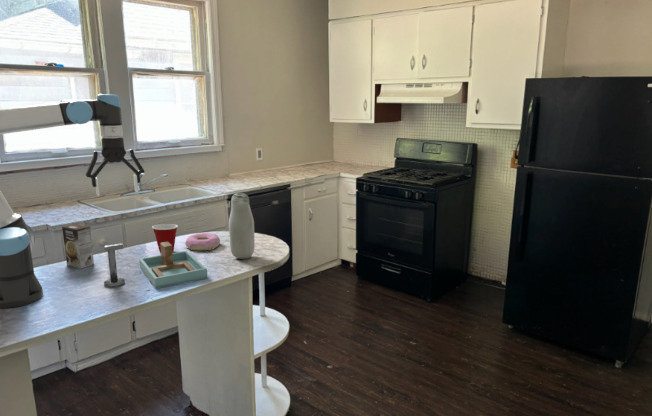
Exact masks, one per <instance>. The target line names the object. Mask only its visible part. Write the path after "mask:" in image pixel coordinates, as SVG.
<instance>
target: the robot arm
mask: <svg viewBox="0 0 652 416" xmlns="http://www.w3.org/2000/svg"><path fill="white" fill-rule="evenodd" d="M89 122H99V129H100V136H101V137H102V138H101V140H100V141H101V151H99V150H98V151H97V150H93V151H92V158H91V160H90V163H89V165H88V168H87V170H86V172H85V176H86V177H87V178H89V179H91V185H92V187H93V188H95V192H96V196H97V197H100V196H101V195H100V187H99V186H100V185H99V184H100V183H99V179H98V177H97V176H98V175H99V174H100V172H101V171H102V170H103V169H104V168H105V166H106V165H107V164H108V163H120V162H122V163H124V164H125V165H126V166H127V167H128V168H129V169H130V170H131V171H132V172H133V173H135V174H132V175H133V177H132V178H133V187H134V192H135V193H139V186H138V185H139V184H140V183H141V175H142V174H144V173H145V169H144V168H143V166H142V165H141V163H140V162H139V160H138V158H137V156H136V155H135V152H134V149H132V148H129V149H125V143H124V141H125V140H124V137H123V136H124V132H123V131H124V130H123V119H122V107H121V99H120V96H119V95H117V94H111V93H110V94H109V93H105V94H102V93H99V94H97V96H96V99H62V100H60V101H59V102H50V103H43V104H35V105H34V104H33V105H25V106H19V107H8V108H1V109H0V135H6V134H11V133H20V132H27V131H33V130H35V131H36V130H42V129H48V128H49V129H51V128H54V127H63V126H71V125H77V124H78V125H84V124H87V123H89ZM126 154H127V155H128V156H130V158H131V159H132V161H133V162H134V164H135V166H136V167H137V168H136V167H134V166H133V164H131V163H130V162H129V161H128V160H127V159H126V158H125V156H126ZM100 156H102V157H103V159H102V160H101V162H100V163H99V165H98V166H97V167H96V168H95V166H96V165H95V164H97V161H98V158H100ZM94 168H95V170H94V171H93V169H94ZM137 169H138V170H137ZM35 241H36V236H35V232H34V230H33V229H32V228H31V226H29V225H28V224H27V223H26V222H25V220H24V218H23V216H22V215H21V214H19V213H15V212H14V211H13V209H12V207H11V206H10V204H9V202H8V200H7V199H6V197H5V196H4V194H3V192H2V190H1V189H0V309H10V308H19V307H23V306H26V305H29V304H32V303H34V302H37V301H38V300H40V299H41V298H42V297H43V296H44V289H43V286H42V285H41V283H40V281H39V279H38V278H37V276H36V275H35V271H34V263H33V254H32V250H33V249H34V245H35Z"/></svg>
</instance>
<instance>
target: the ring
mask: <svg viewBox="0 0 652 416" xmlns="http://www.w3.org/2000/svg"><path fill="white" fill-rule="evenodd" d="M160 246H161V253H160V255H161V259H162V265H163V266H157V267H152V272H153V273H154V274H155V275H156V277H161V276H164V275H163V274H162V273H161V272H160V271H165V270H170V269H175V268H181V267H184V268H185V269H186V270H187V271H192V270H195V269H194V268H193V267H192V266H191V265H190V264H189V263H188V262H187V261H185V262H180V263H174V264H173V253H174V251H173V252H172V245H171V244H170V243H169V242H162V243H160Z"/></svg>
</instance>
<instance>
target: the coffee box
mask: <svg viewBox="0 0 652 416" xmlns="http://www.w3.org/2000/svg"><path fill="white" fill-rule="evenodd" d="M61 228H62V236H63V244H64V245H63V246H64V253H65V261H66V265H67V266H71V267H73V268H77V267H78V269H84V268H86V267H90V266H92V265H94V264H95V260H94V251H93V243H92V242H93V241H92V240H93V239H92V231H91V226H88V225H85V224H79V223H73V224H68V225H67V224H66V225H64V226H62V227H61Z"/></svg>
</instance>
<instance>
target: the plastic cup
mask: <svg viewBox="0 0 652 416" xmlns="http://www.w3.org/2000/svg"><path fill="white" fill-rule="evenodd" d="M151 228H152V230H153V234H154V235H155V239H156V240H155V241H156V244H157V246H158V251H159V253H160V254H161V246H160V243H162V242H169V243H170V244H171V245H172V252H173V253H174V251H175V245H176V244H175V242H176V237H177V230H178V228H179V225H178V224H175V223H174V224H172V223H168V224H167V223H165V224H155V225H152V226H151Z"/></svg>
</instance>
